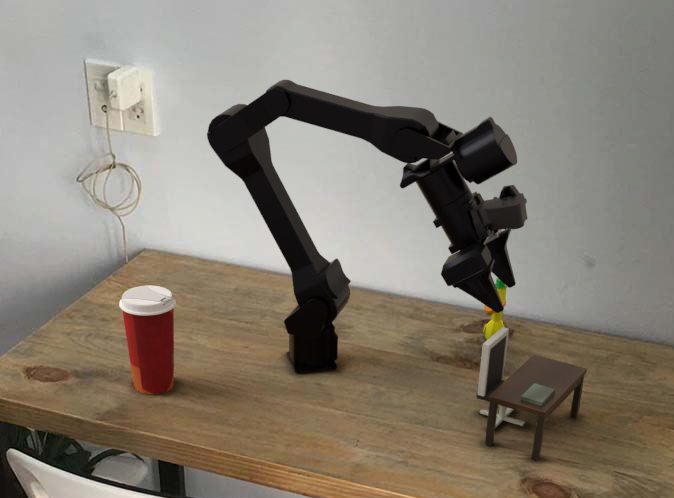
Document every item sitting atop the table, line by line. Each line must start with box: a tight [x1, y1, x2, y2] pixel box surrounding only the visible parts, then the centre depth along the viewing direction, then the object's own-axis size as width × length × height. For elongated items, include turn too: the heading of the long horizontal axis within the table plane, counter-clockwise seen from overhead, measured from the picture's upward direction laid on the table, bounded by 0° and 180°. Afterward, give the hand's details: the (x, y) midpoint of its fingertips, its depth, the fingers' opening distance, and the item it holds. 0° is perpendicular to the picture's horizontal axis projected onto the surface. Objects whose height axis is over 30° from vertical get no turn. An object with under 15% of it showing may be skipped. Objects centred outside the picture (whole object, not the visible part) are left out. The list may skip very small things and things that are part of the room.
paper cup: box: [118, 284, 177, 395], centre depth 157 cm, size 8×8×14 cm
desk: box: [484, 353, 588, 462], centre depth 153 cm, size 8×15×8 cm, turn 150°
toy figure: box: [482, 277, 508, 341], centre depth 171 cm, size 7×4×12 cm, turn 151°
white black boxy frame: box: [475, 327, 527, 429], centre depth 153 cm, size 7×7×12 cm
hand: (506, 298), depth 155 cm, fingers open, 9 cm apart
